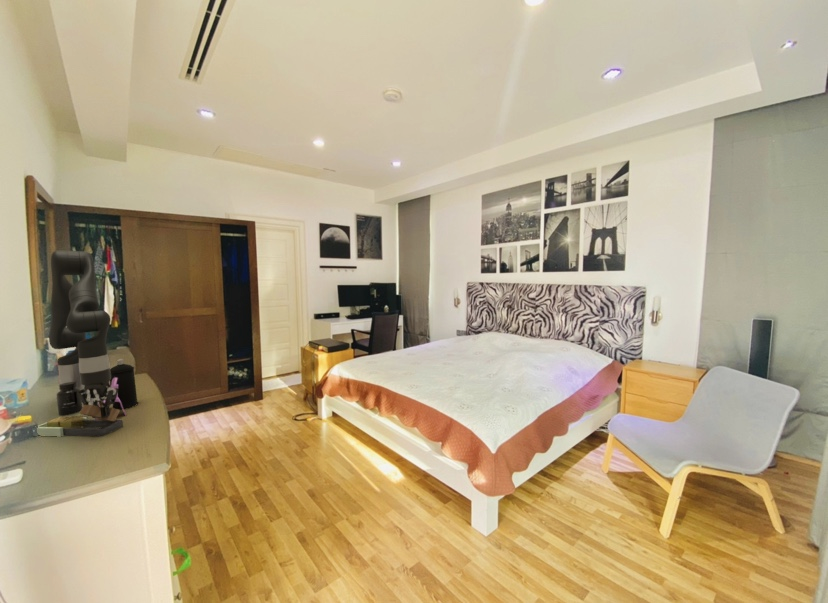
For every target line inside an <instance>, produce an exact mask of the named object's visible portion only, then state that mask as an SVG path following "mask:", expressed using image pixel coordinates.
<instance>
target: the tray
mask: <svg viewBox="0 0 828 603" xmlns="http://www.w3.org/2000/svg"><path fill="white" fill-rule="evenodd" d="M85 419H86V420H89V418H88V416H87V417H84V416H83V420H85ZM37 426H38V428H37V433H38V434H39V435H45V436H57V437H56V438H61V436H62V437H65V436H64V435H63V428H62V427H47V422H44V423H42V424H39V425H37Z"/></svg>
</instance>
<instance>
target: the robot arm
mask: <svg viewBox="0 0 828 603" xmlns="http://www.w3.org/2000/svg"><path fill="white" fill-rule="evenodd" d="M50 269H51V270H50V271H51V282H52V284H51V287H52V288H51V297H50V300H51V302H50V308H51V309H50V311H51V313H50V314H51V320H50V321H51V322H50V327H49V335H48V342H49V345H50V347H51V348H52V349H54V350H63V349H65V350H66V349H70V348H74V350H72V351H71V352H69V353H68V354H65V355H62V356H60V357H59V358H57V368H58V374H59V381H58V386H59V385H60V384H63V383H67V382H76V383H77V387H76V388H79V389H80V390H79V391H77V393H78V395H79V397H80V399H81V401H82V405H83V406H84V405H95V406H98V405H99V404H100V406H99V407H101V408H100V409H101V418H106V417H108V416H109V415H110V408H111V407H110V406H111V405H113V404H114V403H115V400H116V397H117V393H118V388H115V389H113V388H111V386H110V380H111V371H110V369H111V364H110V359H109V355H108V349H107V336H108V331H109V328H110V324H111V316H110V314H109V313H108V312H106V311H105V310H99V308H100V303H99V299H98V298H99V297H98V295H97V291H96V273H95V272H96V271H95V270H96V269H95V263H94V258H93V256H92V253H90V252H88V251H84V250H83V251H81V250H63V249H61V250H54V251H53V252H52V254H51V255H50ZM66 276H81V277H80V279H79V280H78V281H76V282H75V283H74V284H72V282H70V281H69V280H68V278H67V277H66ZM92 332H94V333H95V332H96V334H95V335H94V336H92V337H89V338H87V333H92ZM104 400H105V403H104V402H103V401H104ZM110 400H111V401H110ZM91 418H92V419H95V418H96V417H91Z"/></svg>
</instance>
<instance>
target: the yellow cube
mask: <svg viewBox="0 0 828 603" xmlns="http://www.w3.org/2000/svg"><path fill="white" fill-rule="evenodd" d="M69 417H70V416H58V417H56V418H53V419H50V420H48V421H46V423H47V427H60V421H62V420H64V419H66V418H69Z"/></svg>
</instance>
